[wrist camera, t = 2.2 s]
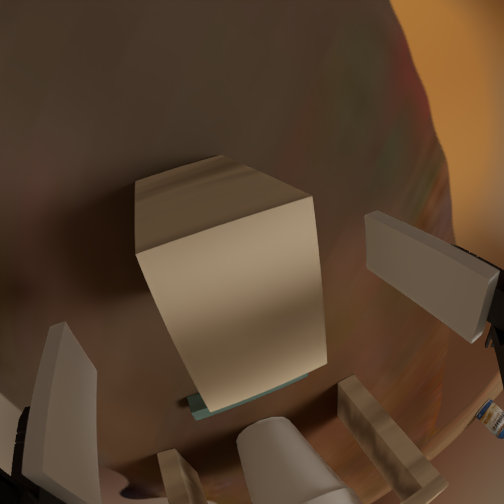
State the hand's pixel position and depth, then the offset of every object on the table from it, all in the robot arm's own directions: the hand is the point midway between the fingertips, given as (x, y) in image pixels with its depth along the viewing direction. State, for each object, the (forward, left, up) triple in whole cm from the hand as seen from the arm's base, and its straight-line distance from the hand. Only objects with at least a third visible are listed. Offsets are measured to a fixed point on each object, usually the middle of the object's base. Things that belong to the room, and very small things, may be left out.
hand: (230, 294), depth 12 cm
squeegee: (+5, 0, -7) cm, 9 cm away
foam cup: (+24, 0, -8) cm, 25 cm away
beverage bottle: (+93, +73, -8) cm, 118 cm away
